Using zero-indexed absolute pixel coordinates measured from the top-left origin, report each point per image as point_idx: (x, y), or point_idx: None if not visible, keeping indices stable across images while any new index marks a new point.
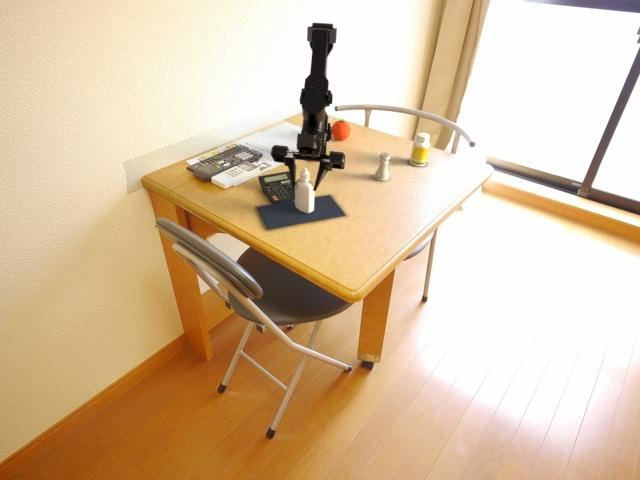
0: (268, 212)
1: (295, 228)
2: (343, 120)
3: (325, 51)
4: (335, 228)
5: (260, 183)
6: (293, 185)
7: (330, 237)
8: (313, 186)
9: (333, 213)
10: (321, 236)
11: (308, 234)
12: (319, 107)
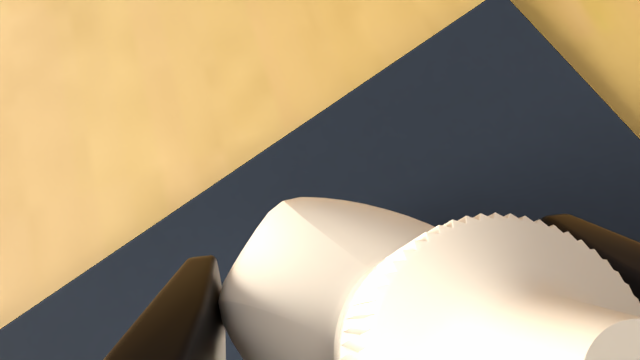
0: (595, 169)
1: (327, 61)
2: None
3: None
4: (24, 148)
5: None
6: (567, 225)
7: (52, 31)
8: (229, 287)
9: (57, 347)
10: (120, 25)
11: (217, 22)
12: None
